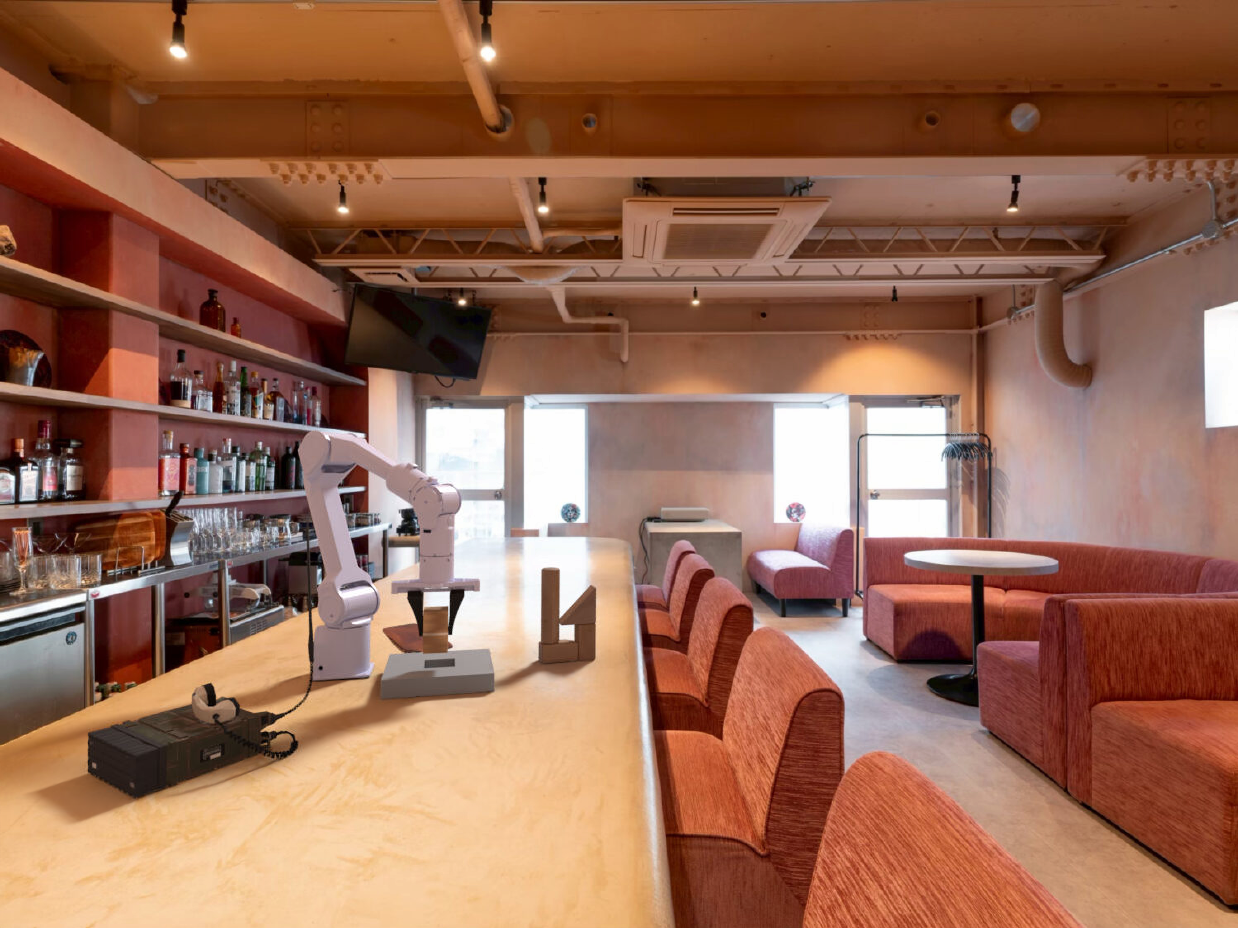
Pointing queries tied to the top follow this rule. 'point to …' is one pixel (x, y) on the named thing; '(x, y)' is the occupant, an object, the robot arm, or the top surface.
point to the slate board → (437, 673)
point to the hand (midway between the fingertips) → (435, 634)
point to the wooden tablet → (407, 637)
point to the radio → (186, 738)
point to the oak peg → (435, 630)
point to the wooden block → (566, 622)
